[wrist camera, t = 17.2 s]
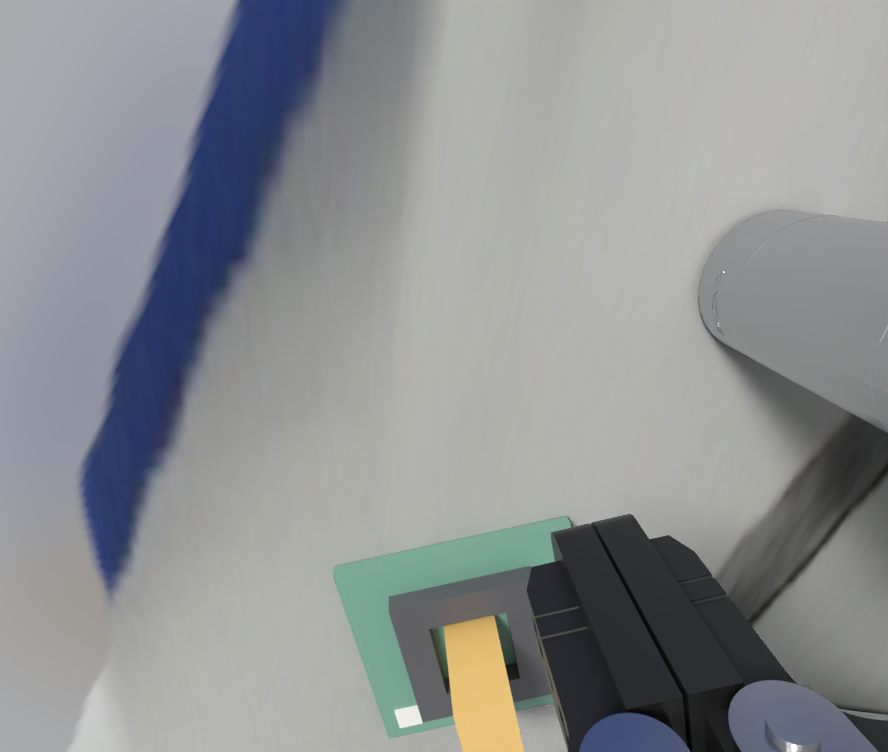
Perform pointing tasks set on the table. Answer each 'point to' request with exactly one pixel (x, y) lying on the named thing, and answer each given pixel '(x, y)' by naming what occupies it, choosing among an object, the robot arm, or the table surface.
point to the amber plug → (480, 688)
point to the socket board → (424, 574)
